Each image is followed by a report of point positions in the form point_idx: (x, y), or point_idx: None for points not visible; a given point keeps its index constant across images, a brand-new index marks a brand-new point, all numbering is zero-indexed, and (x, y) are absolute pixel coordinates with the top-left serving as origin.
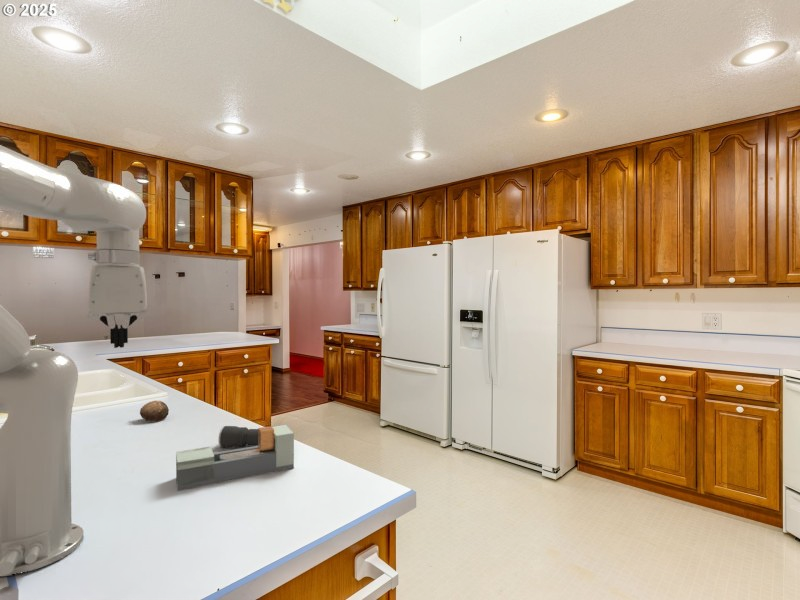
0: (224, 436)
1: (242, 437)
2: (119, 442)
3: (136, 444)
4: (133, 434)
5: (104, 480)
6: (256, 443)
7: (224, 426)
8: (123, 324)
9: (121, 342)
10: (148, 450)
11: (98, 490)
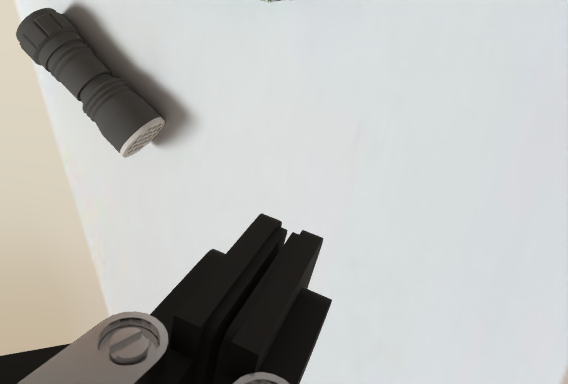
0: (140, 114)
1: (107, 81)
2: (332, 330)
3: None
4: None
5: (428, 119)
6: (91, 50)
7: (124, 143)
8: (138, 368)
9: (258, 235)
10: None
11: (460, 61)
